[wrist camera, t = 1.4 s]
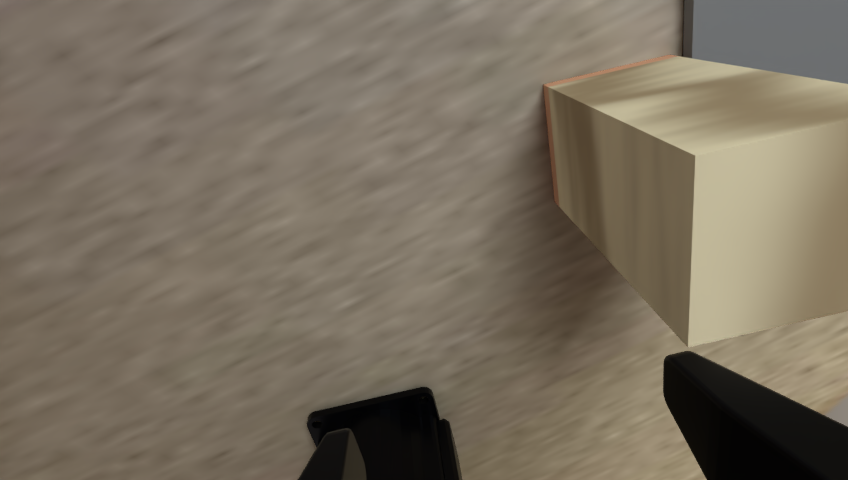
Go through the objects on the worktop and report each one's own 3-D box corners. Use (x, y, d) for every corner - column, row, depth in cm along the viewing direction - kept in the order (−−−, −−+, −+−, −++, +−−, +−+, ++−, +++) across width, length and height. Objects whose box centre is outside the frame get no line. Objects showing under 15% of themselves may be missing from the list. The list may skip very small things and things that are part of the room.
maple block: (554, 201, 21) (688, 347, 12) (543, 84, 19) (695, 155, 10) (668, 175, 21) (886, 302, 12) (669, 54, 19) (939, 98, 10)
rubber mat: (677, 262, 23) (685, 268, 22) (686, -85, 17) (696, -88, 16) (908, 209, 23) (921, 214, 22) (1002, -160, 17) (1022, -166, 16)
